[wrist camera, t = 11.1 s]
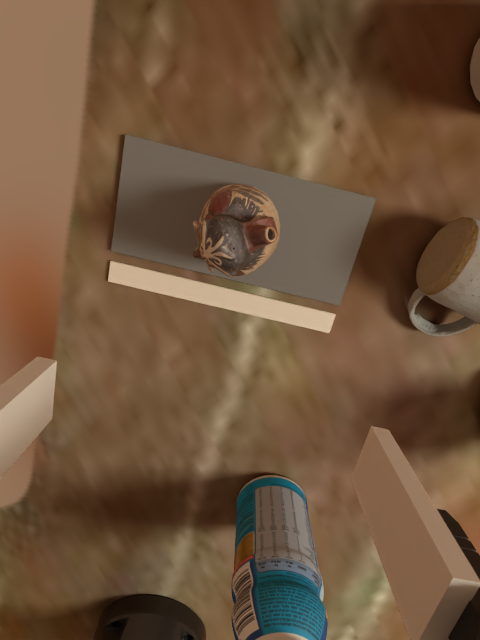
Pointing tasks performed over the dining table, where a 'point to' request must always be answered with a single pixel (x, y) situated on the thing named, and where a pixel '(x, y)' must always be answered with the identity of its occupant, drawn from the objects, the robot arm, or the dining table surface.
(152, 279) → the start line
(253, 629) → the beverage bottle
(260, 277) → the mat
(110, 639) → the robot arm
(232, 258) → the figurine
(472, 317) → the ceramic mug
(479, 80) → the can
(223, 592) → the dining table surface
